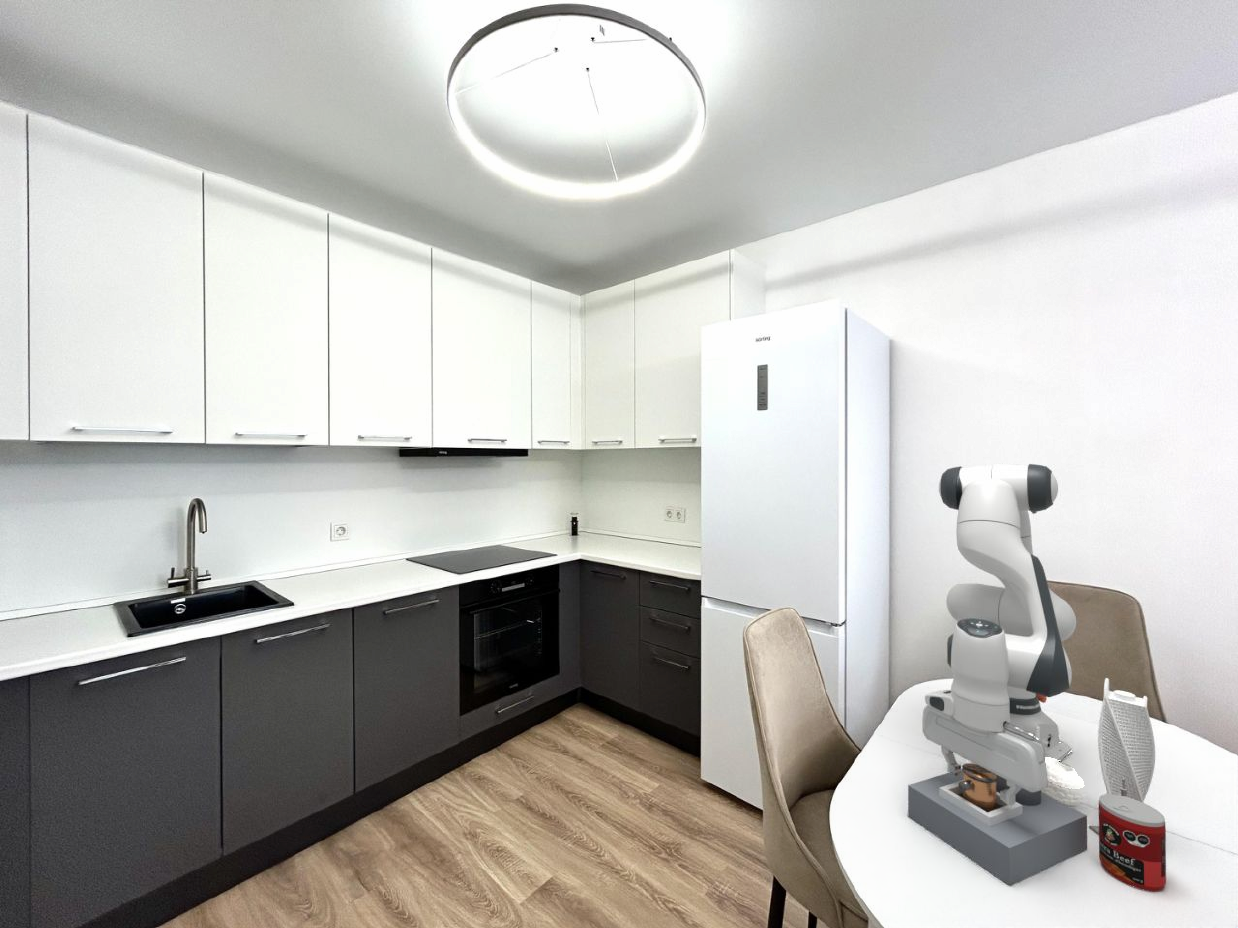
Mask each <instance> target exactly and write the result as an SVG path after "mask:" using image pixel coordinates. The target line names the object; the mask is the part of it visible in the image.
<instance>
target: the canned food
mask: <svg viewBox="0 0 1238 928" xmlns="http://www.w3.org/2000/svg"><path fill="white" fill-rule="evenodd" d="M1098 826H1099V835H1098V853H1099V854H1098V857H1099V862H1100V864H1101V866H1102V867H1103V869H1104V870H1105V871H1106V872H1107V873H1108V874H1109V875H1111V876H1112V877H1114V878H1115V879H1116V880H1118V881H1120V882H1122V883H1124V884H1126V885H1128V886H1130V885H1131V886H1130V887H1133V886H1134V887H1133V888H1136V889H1139V890H1142V889H1144V890H1143V891H1147V890H1149V891H1148V892H1160V891H1162V890H1164V888H1165V886H1166V884H1167V856H1166V854H1167V847H1166V846H1167V844H1166V843H1167V839H1166V838H1167V837H1166V834H1167V833H1166V832H1167V829H1166V819H1165V816H1164V814H1162V812H1160V811H1159V810H1158V809H1156V808H1154V807H1153V806H1151V805H1150V804H1147V803H1145V802H1144V803H1143V802H1140V801H1138V800H1135V799H1132V798H1129V797H1125V796H1121V795H1115V794H1106V793H1104V794H1101V795H1099V798H1098ZM1159 890H1160V891H1159Z"/></svg>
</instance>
